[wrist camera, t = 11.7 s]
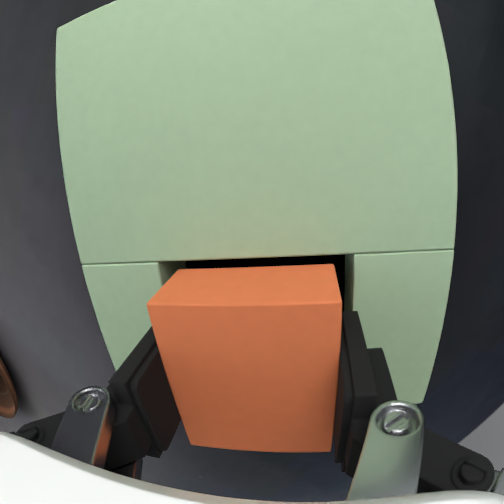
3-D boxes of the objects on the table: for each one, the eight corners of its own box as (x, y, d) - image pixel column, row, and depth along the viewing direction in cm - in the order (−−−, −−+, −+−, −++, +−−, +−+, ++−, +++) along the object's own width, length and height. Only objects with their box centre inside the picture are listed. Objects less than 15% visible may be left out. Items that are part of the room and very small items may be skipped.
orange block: (333, 262, 10) (342, 301, 7) (329, 403, 11) (330, 452, 9) (177, 268, 10) (145, 303, 8) (207, 401, 12) (190, 445, 10)
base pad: (405, -6, 8) (424, -32, 6) (410, 368, 13) (422, 403, 11) (90, 39, 10) (55, 28, 8) (146, 367, 15) (126, 397, 13)
